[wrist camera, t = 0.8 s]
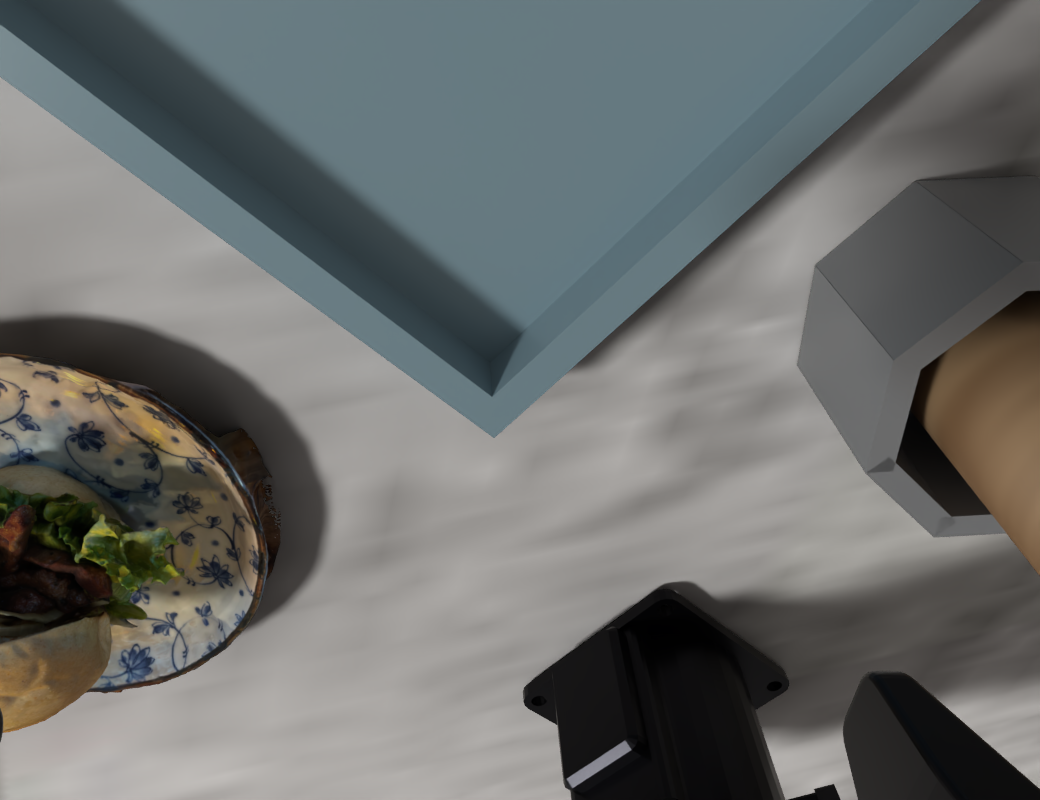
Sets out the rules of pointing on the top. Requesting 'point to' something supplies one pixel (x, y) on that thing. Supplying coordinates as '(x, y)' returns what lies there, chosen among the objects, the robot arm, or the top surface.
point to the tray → (465, 148)
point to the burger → (118, 537)
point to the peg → (992, 416)
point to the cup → (916, 327)
